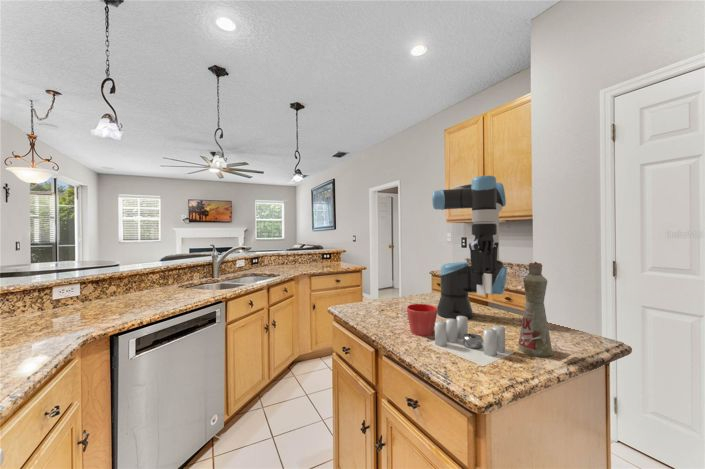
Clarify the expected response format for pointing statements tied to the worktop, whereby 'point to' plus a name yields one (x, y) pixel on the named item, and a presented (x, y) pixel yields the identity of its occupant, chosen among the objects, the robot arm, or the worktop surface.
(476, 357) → the board
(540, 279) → the bottle
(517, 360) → the worktop surface
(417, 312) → the flower pot
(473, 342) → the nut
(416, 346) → the worktop surface
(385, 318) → the worktop surface
